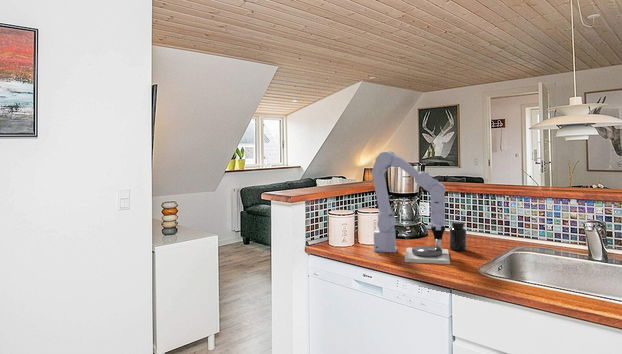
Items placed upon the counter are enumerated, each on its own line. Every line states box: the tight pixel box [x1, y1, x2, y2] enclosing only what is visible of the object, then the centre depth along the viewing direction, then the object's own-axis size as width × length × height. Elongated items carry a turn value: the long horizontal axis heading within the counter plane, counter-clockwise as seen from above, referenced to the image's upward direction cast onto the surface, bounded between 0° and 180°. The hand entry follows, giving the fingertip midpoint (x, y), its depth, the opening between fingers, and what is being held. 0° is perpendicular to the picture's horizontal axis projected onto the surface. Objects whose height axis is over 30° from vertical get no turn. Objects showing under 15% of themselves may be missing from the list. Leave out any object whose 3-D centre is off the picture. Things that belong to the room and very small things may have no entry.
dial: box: [411, 239, 443, 257], centre depth 157 cm, size 12×12×6 cm
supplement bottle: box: [449, 221, 467, 252], centre depth 167 cm, size 7×7×12 cm
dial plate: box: [404, 247, 451, 265], centre depth 157 cm, size 17×17×2 cm
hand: (438, 243), depth 160 cm, fingers closed
